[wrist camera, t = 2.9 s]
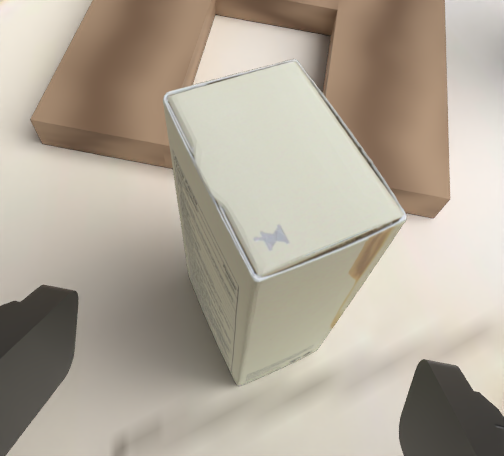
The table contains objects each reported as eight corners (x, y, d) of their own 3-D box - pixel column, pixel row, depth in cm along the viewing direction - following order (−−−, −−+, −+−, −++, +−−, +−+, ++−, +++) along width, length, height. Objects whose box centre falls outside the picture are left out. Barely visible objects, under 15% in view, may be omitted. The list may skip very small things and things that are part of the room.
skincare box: (320, 350, 22) (424, 228, 11) (235, 390, 21) (259, 297, 10) (261, 236, 25) (300, 48, 14) (182, 267, 23) (157, 87, 13)
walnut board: (432, 24, 33) (444, -1, 32) (433, 218, 26) (450, 199, 24) (128, -31, 34) (123, -59, 32) (42, 143, 26) (30, 119, 24)
